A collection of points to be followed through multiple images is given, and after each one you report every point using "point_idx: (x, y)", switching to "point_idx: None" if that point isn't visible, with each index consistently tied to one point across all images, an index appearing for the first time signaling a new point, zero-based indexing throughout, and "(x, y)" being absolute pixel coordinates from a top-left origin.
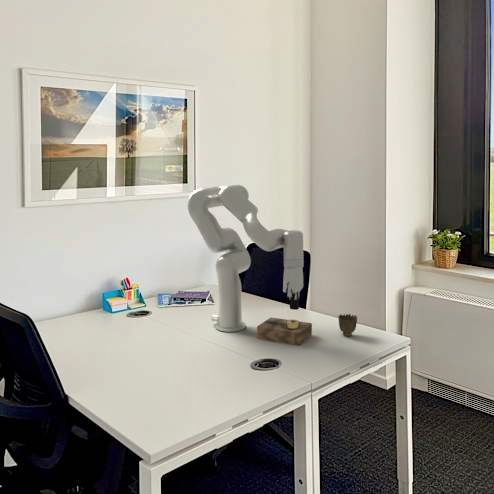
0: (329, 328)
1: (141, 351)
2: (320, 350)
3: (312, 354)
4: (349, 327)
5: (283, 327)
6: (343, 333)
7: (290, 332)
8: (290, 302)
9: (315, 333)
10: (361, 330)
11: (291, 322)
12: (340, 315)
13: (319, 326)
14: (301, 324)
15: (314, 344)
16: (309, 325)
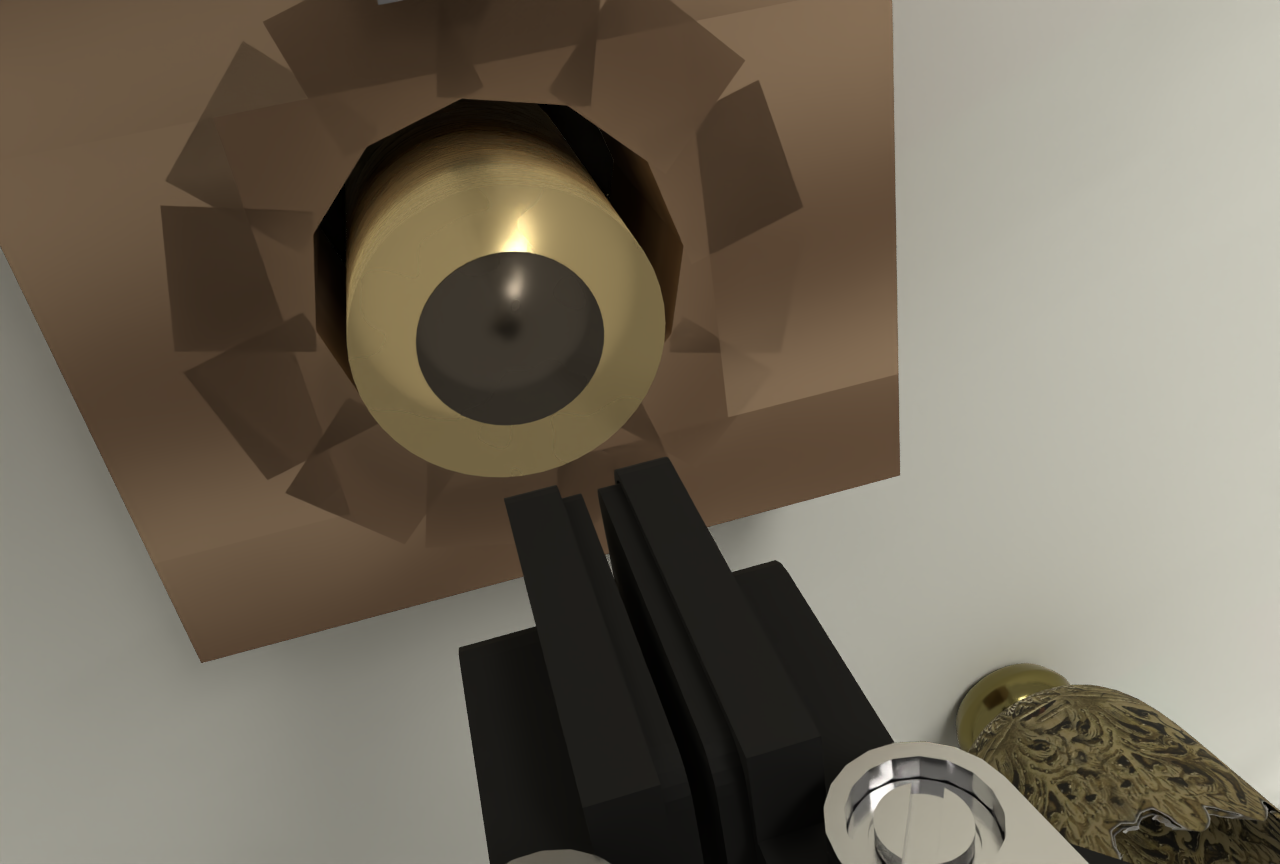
0: (1208, 385)
1: None
2: (289, 798)
3: (61, 824)
4: None
5: (237, 163)
6: (985, 708)
7: (115, 470)
8: (557, 701)
9: (911, 356)
10: (1243, 697)
11: (402, 374)
12: (1232, 815)
13: (1260, 212)
14: (718, 370)
15: (445, 621)
16: (761, 507)
